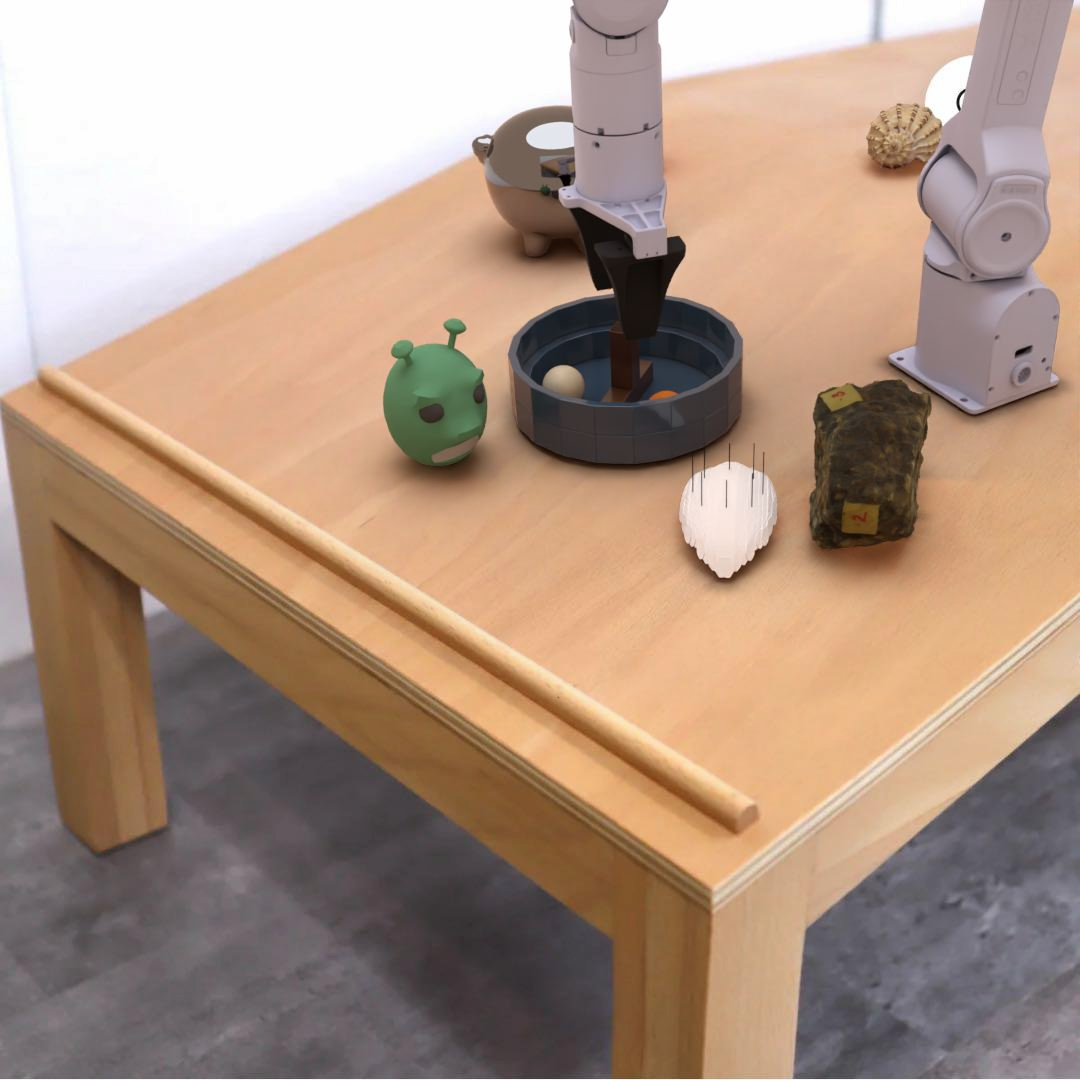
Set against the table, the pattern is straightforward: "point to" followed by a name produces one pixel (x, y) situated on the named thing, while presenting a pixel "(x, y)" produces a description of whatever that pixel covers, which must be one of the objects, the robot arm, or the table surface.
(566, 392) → the bead
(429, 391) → the alien toy
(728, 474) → the pincushion
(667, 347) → the bowl
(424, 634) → the table surface
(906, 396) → the rock
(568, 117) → the piggy bank
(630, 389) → the brown t-shaped block
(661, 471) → the table surface
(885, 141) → the seashell
